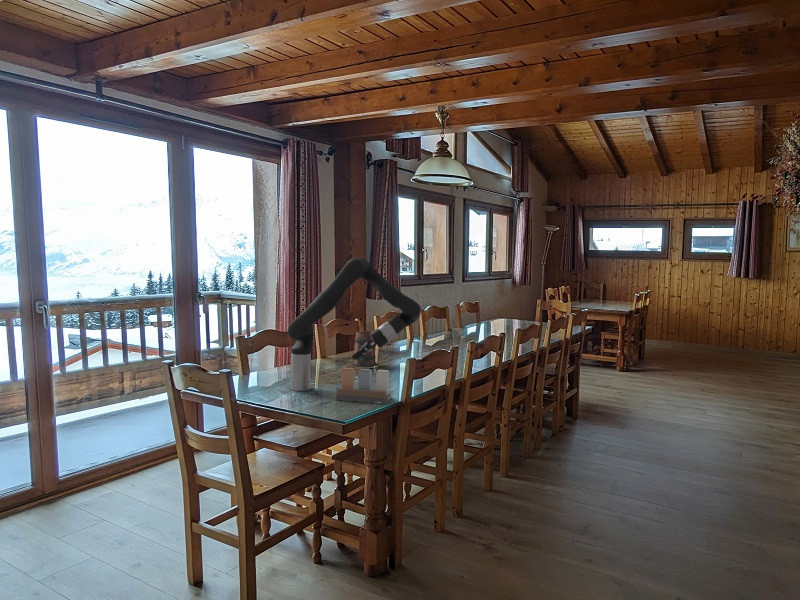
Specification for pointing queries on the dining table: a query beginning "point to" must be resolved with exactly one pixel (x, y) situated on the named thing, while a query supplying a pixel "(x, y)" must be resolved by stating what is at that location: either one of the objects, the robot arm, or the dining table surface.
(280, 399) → the dining table surface
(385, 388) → the cream key
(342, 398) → the key bed
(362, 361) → the tankard
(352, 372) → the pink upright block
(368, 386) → the blue-grey key
